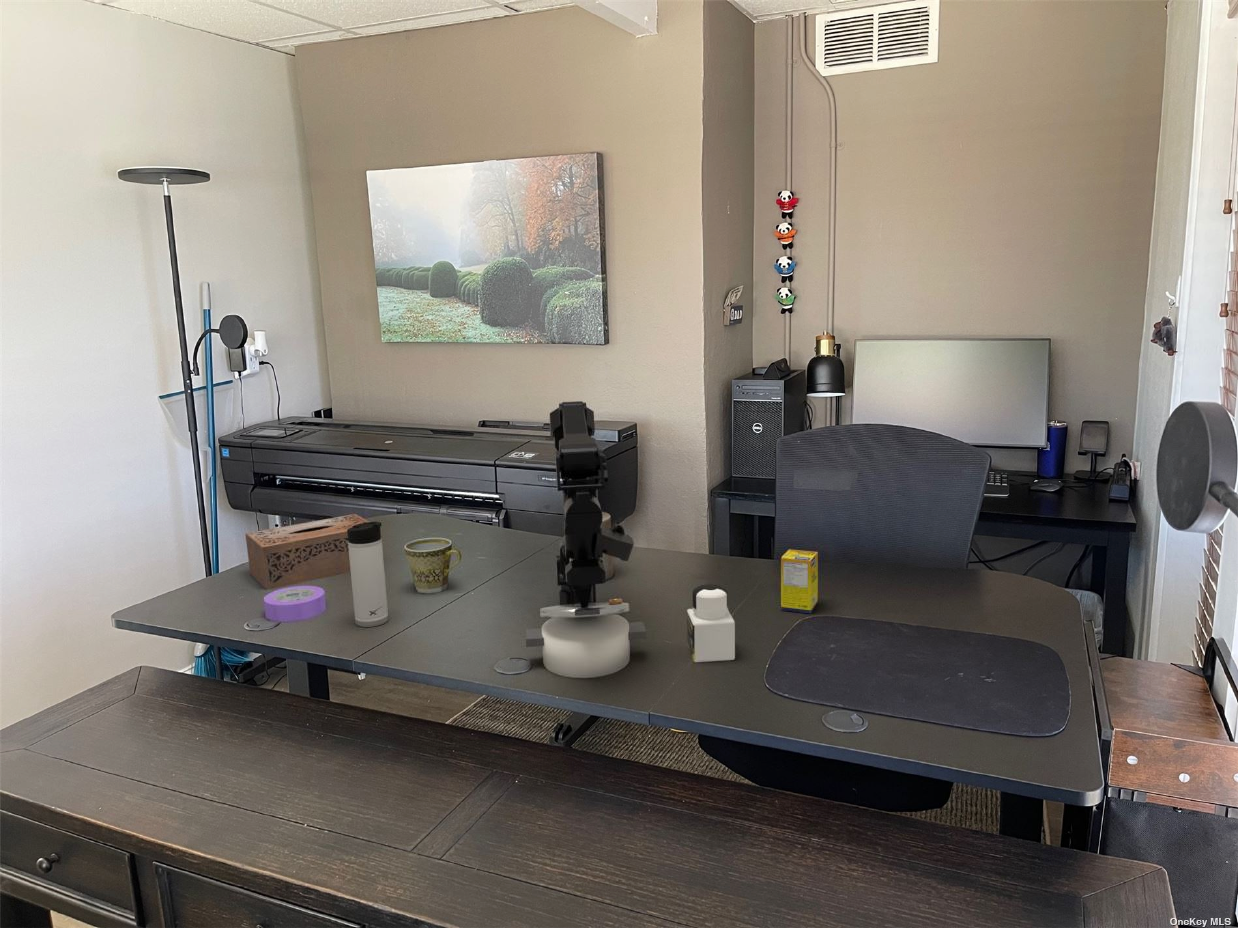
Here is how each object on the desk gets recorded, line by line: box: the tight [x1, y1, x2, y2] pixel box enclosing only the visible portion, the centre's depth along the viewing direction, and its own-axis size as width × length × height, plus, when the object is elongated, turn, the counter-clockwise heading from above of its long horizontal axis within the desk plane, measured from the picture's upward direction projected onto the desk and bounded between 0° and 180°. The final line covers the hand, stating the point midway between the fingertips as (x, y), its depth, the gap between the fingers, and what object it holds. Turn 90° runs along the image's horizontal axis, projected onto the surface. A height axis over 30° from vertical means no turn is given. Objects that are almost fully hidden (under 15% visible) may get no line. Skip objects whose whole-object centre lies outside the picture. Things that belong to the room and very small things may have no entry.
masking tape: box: [263, 585, 327, 623], centre depth 181 cm, size 12×12×4 cm
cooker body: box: [525, 614, 647, 679], centre depth 154 cm, size 16×20×6 cm
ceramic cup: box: [404, 537, 462, 595], centre depth 191 cm, size 13×10×10 cm
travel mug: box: [347, 521, 389, 628], centre depth 173 cm, size 6×7×20 cm
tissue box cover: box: [245, 513, 370, 591], centre depth 207 cm, size 26×14×10 cm, turn 126°
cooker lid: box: [539, 598, 630, 619], centre depth 152 cm, size 17×15×2 cm
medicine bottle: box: [686, 583, 736, 663], centre depth 154 cm, size 7×7×12 cm
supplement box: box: [780, 549, 819, 615], centre depth 174 cm, size 6×6×11 cm
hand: (584, 606), depth 151 cm, fingers closed
